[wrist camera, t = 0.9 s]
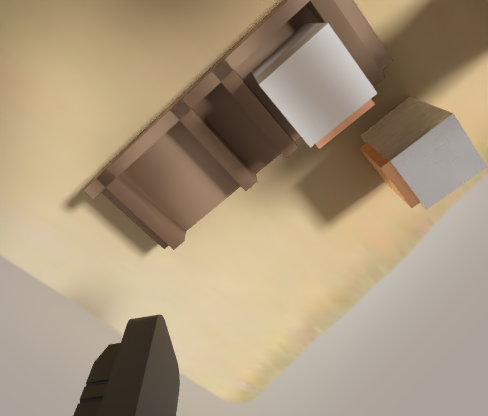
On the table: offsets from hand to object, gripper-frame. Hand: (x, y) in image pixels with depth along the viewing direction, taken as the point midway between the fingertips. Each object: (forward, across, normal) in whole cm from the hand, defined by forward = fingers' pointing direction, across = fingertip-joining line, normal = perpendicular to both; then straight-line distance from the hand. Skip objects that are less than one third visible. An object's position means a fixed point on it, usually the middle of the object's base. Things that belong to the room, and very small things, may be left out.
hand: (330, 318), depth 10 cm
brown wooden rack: (+21, +2, -1) cm, 21 cm away
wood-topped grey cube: (+21, -10, +3) cm, 23 cm away
